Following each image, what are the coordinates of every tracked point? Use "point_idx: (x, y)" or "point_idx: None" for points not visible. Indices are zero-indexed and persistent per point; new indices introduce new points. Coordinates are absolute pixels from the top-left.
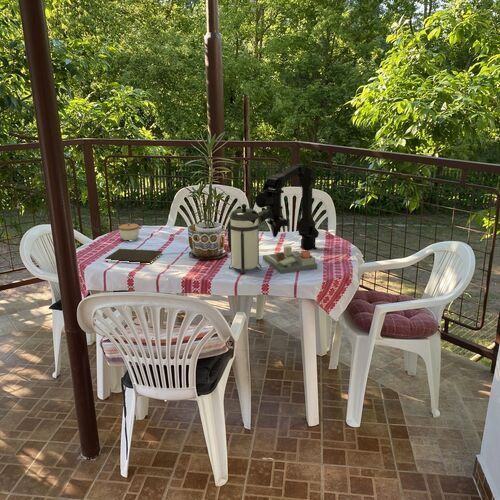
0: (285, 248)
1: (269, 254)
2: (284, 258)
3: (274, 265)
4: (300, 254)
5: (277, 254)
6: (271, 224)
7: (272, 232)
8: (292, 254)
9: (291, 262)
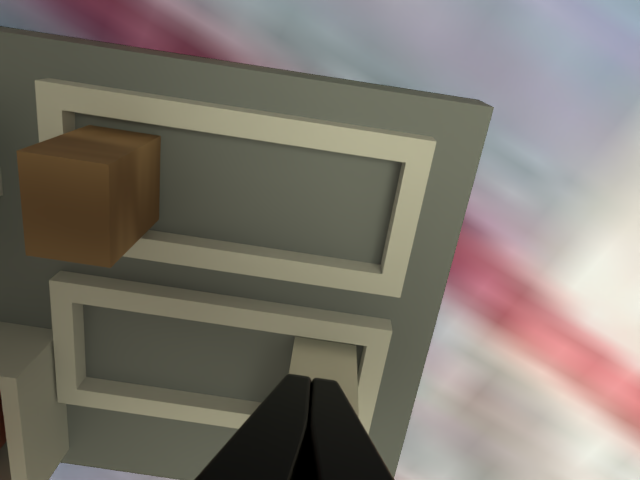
0: None
1: (416, 180)
2: (162, 260)
3: (44, 36)
4: None
5: (62, 154)
6: None
7: (350, 461)
8: None
9: (56, 273)
